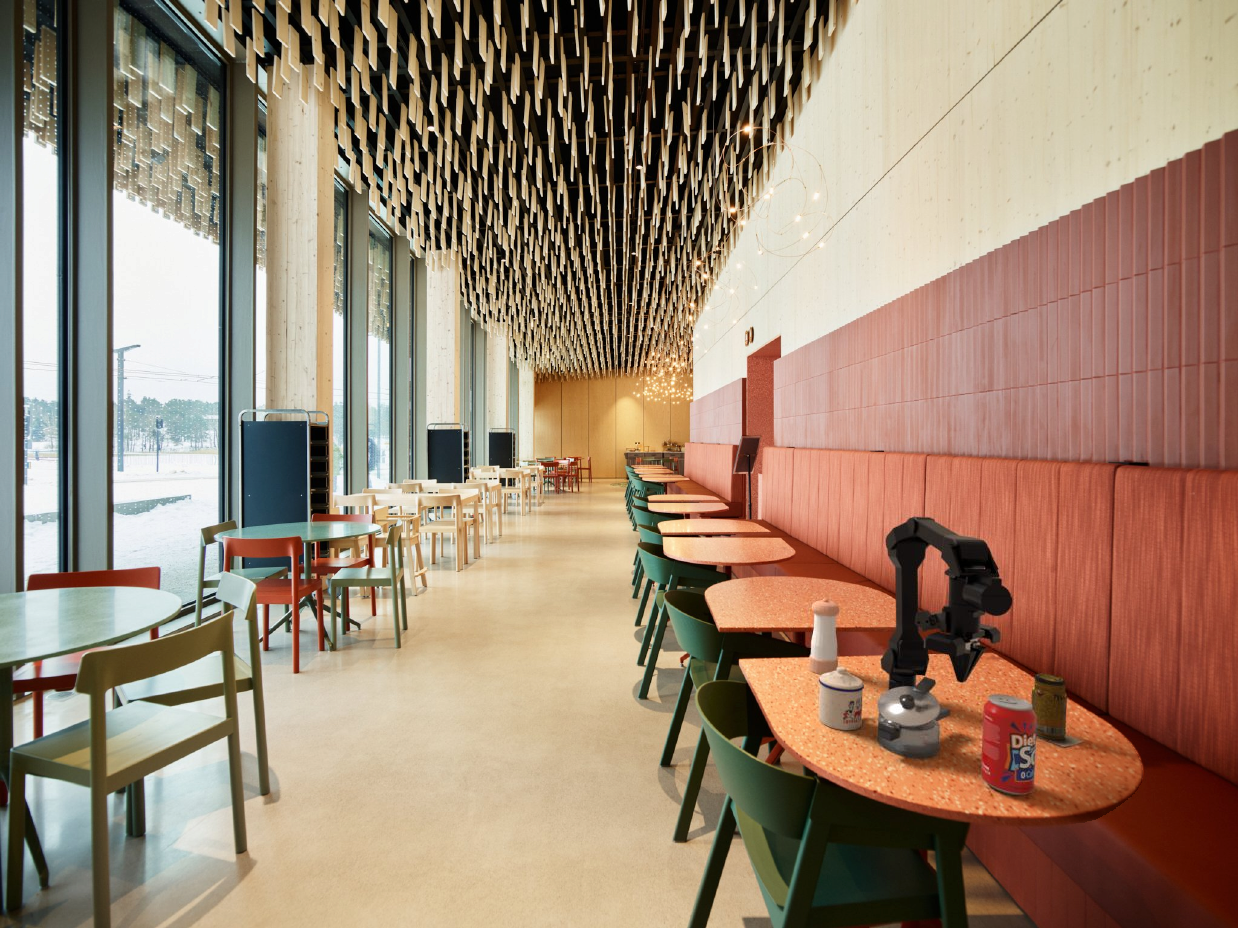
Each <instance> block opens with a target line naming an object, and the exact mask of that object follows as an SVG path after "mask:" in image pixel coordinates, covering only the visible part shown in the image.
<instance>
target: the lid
mask: <svg viewBox="0 0 1238 928" xmlns="http://www.w3.org/2000/svg"><path fill="white" fill-rule="evenodd" d="M936 685H937V683H936V680H935V679H934V678H930V677H927V676H923V678H922V679H920V681H919V682H918V683H916V686H915V687H908V686H906V687H897V688H893V689H890V690H888V689H887V690H886V691H884V692H883V693H881V695H880V697H879V698H878V700H877V704H876V705H877V710H878V714H879V713H880V715H881V716H882V717H883V718H884V720H883V722H886V723H888V724H891V725H893V726H896V727H897V729H900V727H920V726H924V725H927V724H929V723H931V722H932V721H934V720H935V719H936V718H937V717H938V715H939V713H940V706H941V705H940V702H939V700H938V698H937V697H936V696H935V694H933V693H932V692H931V690H933V688H934V687H935V686H936ZM939 705H940V706H939Z"/></svg>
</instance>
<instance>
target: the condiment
mask: <svg viewBox="0 0 1238 928" xmlns="http://www.w3.org/2000/svg"><path fill="white" fill-rule="evenodd" d="M1033 683H1034V685H1033V687H1031V697H1030V698H1031V699H1030V700H1031V701H1030V703H1031V704H1032V709H1033V711H1034V712H1035V714H1036V716H1037V728H1036V738H1038V739H1041V740H1045V741H1046V742H1049V743H1051V744H1055V745H1058V746H1060V747H1062V748H1067V747H1070V746H1071V747H1072V746H1074V745H1075V746H1076V745H1078V744H1080V743H1083V742H1085V741H1084V740H1082V739H1080V738H1076V737H1075V736H1071V735H1070V734H1066V733H1067V732H1066V731H1067V729H1066V727H1067V724H1066V723H1067V704H1068V703H1067V702H1068V701H1067V699H1068V695H1067V693H1066V687H1065V686H1066V681H1065V680H1064V678H1062V677H1059V676H1056V675H1052V674H1048V673H1036V674H1035V675H1034V682H1033Z"/></svg>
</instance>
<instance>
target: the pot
mask: <svg viewBox="0 0 1238 928" xmlns="http://www.w3.org/2000/svg"><path fill="white" fill-rule="evenodd" d="M939 706H940V713H939V715H938V717H937V718H936V719H935V720H934V721H932V722H931V723H929V724H927V725H924V726H920V727H900V729H897V727H896V726H893V725H891V724H888V723H886V722H883V720H884V718H883V717H882V716H881V715H880V713H879V712H878V723H877V724H878V725H877V742H878V743H879V745H880V746H881V747H882V748H884V749H885V750H887V751H889V752H891V753H893V754H895V755H899V756H902V757H905V758H911V759H919V760H920V759H921V760H925V759H932V758H935V757H937V756H938V755H939V753H940V740H941V739H940V735H941V725H940V723H939V721H941V720H943V719H945V718H948V717H950V715H951V708H949V707H945V706H942V705H940V704H939Z"/></svg>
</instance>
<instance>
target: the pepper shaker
mask: <svg viewBox="0 0 1238 928" xmlns="http://www.w3.org/2000/svg"><path fill="white" fill-rule="evenodd" d="M811 611H812V613H814V617H813V618H814V619H813V620H814V621H813V633H812V636H811V641H810V648H811V649H810V655H809V656H808V657H809V660H808V661H809V662H808V663H809V664H808V669H809V671H810V672H812V673H814V674H818V675H822V674H824V673H829V672H832V671H837V667H839V658H838V657H837V655H838V640H837V633H836V632H837V631H836V629H837V628H836V627H837V626H836V625H837V624H836V623H837V616H838V615H839V613H840V608H839V605H838V604H837V603H835V602H833V601H831V600H829V598H827V597H825V598H822V599H820V600H817V601H814V602H813V603H812V604H811Z"/></svg>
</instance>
